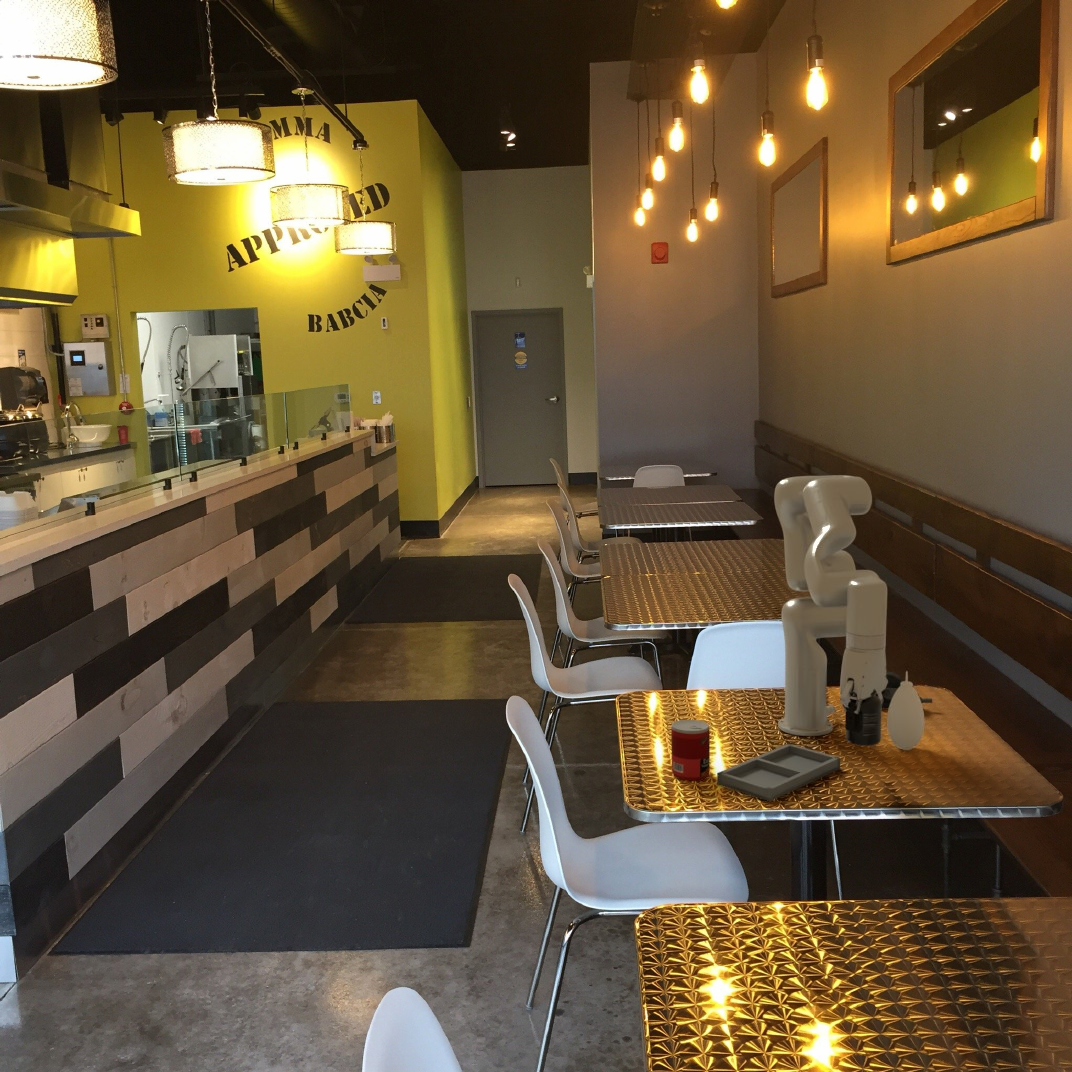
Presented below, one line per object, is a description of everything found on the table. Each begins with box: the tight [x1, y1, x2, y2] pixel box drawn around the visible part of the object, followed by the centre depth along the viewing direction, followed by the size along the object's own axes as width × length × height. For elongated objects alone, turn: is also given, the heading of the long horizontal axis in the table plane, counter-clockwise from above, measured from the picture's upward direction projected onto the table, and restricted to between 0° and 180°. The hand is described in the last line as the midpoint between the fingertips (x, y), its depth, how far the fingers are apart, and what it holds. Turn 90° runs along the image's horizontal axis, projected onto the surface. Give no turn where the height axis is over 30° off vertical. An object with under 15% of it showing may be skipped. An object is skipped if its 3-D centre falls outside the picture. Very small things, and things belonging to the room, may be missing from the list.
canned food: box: [670, 719, 711, 782], centre depth 224 cm, size 8×8×11 cm
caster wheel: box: [882, 670, 933, 709], centre depth 265 cm, size 6×10×15 cm
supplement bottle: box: [845, 690, 883, 747], centre depth 213 cm, size 7×7×12 cm
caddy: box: [716, 743, 841, 802], centre depth 222 cm, size 25×13×2 cm, turn 132°
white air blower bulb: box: [886, 670, 925, 751], centre depth 235 cm, size 8×8×18 cm
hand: (863, 725), depth 213 cm, fingers closed on supplement bottle, 6 cm apart
